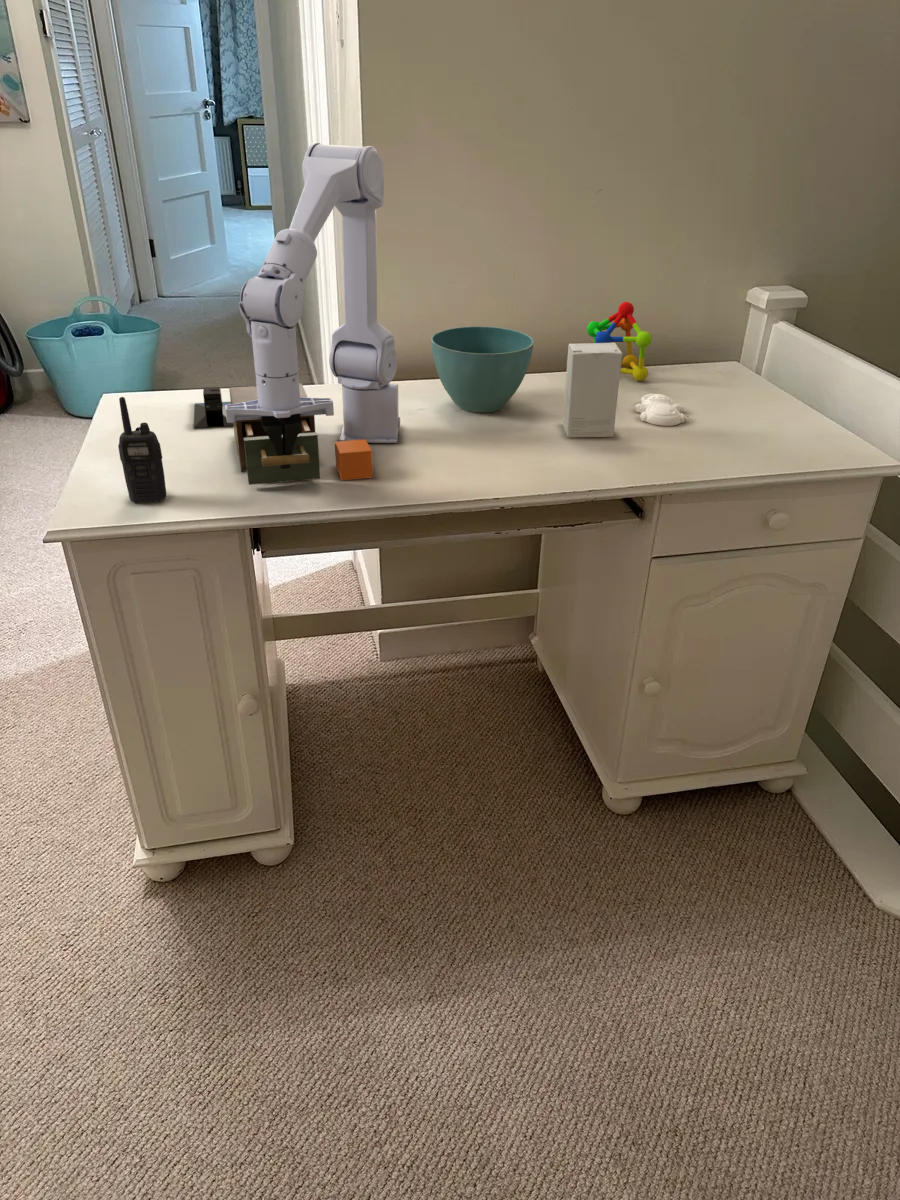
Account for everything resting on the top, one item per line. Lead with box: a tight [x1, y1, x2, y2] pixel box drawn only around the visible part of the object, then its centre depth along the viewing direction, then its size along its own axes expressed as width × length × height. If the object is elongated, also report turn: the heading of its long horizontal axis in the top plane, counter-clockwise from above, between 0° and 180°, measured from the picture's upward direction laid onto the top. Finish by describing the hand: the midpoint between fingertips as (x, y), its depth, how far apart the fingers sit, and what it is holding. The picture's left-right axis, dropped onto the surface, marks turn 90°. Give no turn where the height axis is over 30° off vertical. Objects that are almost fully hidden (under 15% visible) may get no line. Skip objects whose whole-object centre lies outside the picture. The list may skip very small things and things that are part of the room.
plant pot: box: [430, 325, 534, 414], centre depth 156 cm, size 18×18×12 cm
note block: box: [334, 439, 373, 481], centre depth 131 cm, size 5×5×4 cm
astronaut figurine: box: [634, 393, 686, 427], centre depth 157 cm, size 9×12×3 cm
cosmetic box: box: [562, 342, 623, 438], centre depth 145 cm, size 8×6×15 cm
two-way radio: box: [117, 396, 167, 504], centre depth 119 cm, size 6×4×15 cm
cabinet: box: [228, 382, 316, 473], centre depth 136 cm, size 14×12×9 cm
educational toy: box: [586, 301, 653, 382], centre depth 173 cm, size 16×13×15 cm
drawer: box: [243, 418, 321, 486], centre depth 128 cm, size 18×10×7 cm, turn 16°
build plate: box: [191, 386, 234, 430], centre depth 150 cm, size 12×7×5 cm, turn 13°
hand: (284, 466), depth 123 cm, fingers closed, pressing on drawer
